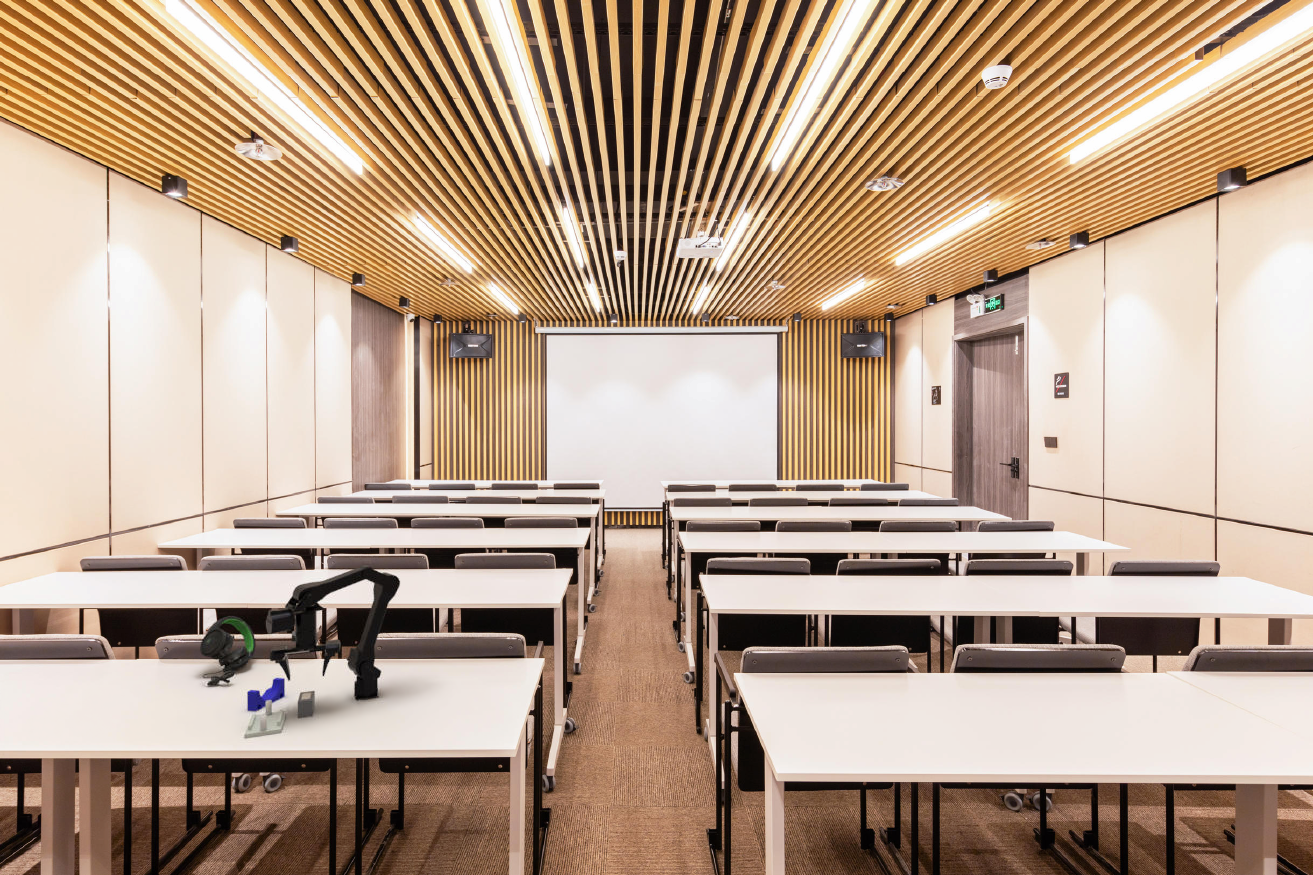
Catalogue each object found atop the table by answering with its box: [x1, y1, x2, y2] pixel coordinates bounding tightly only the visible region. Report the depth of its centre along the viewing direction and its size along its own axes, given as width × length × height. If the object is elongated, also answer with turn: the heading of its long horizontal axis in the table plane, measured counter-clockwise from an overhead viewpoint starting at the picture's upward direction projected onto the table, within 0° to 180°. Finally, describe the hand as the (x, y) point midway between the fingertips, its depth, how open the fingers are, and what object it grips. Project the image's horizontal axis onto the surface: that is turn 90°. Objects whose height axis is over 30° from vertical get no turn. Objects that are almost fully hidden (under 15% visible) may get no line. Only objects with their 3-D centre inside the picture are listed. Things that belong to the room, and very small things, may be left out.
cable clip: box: [246, 677, 286, 712], centre depth 216 cm, size 12×4×6 cm, turn 169°
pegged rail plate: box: [243, 700, 287, 739], centre depth 200 cm, size 9×14×5 cm, turn 23°
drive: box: [297, 690, 316, 719], centre depth 210 cm, size 4×8×5 cm, turn 22°
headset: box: [199, 615, 257, 687], centre depth 243 cm, size 18×14×29 cm
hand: (306, 678), depth 210 cm, fingers open, 9 cm apart
